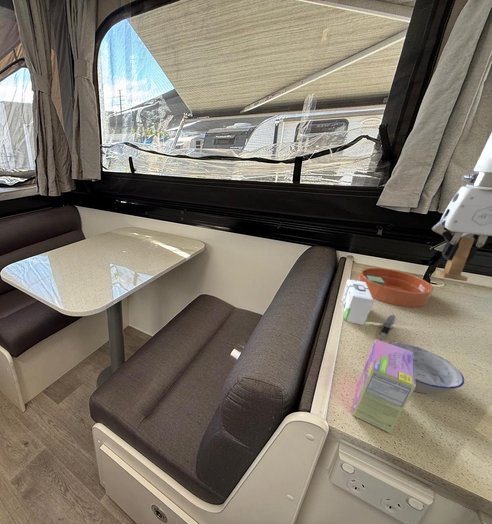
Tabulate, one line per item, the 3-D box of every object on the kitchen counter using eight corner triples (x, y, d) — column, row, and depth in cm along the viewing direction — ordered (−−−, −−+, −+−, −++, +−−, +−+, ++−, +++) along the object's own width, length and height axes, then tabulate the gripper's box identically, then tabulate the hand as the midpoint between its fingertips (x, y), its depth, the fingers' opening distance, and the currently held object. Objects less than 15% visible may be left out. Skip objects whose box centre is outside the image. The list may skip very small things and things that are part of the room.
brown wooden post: (456, 277, 66) (472, 237, 64) (466, 281, 63) (483, 239, 61) (435, 274, 68) (449, 235, 66) (443, 277, 65) (458, 236, 62)
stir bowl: (413, 287, 95) (419, 273, 93) (436, 314, 80) (445, 298, 78) (351, 277, 102) (355, 264, 100) (362, 300, 88) (367, 285, 85)
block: (377, 287, 94) (381, 277, 92) (380, 292, 91) (384, 282, 89) (363, 285, 96) (366, 275, 94) (365, 290, 92) (369, 280, 91)
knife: (372, 336, 72) (386, 340, 70) (372, 333, 71) (387, 338, 69) (382, 313, 81) (396, 316, 79) (383, 310, 81) (396, 314, 79)
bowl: (442, 416, 51) (454, 398, 49) (363, 371, 61) (370, 355, 59) (462, 385, 57) (473, 368, 55) (387, 350, 67) (394, 334, 65)
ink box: (344, 321, 78) (339, 302, 87) (365, 326, 75) (358, 305, 85) (352, 295, 74) (346, 278, 84) (375, 299, 72) (366, 281, 82)
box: (357, 381, 58) (375, 338, 53) (391, 396, 55) (415, 351, 50) (350, 415, 51) (371, 368, 46) (389, 434, 48) (416, 387, 43)
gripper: (452, 181, 58) (417, 259, 66) (566, 186, 51) (512, 272, 59) (437, 177, 64) (406, 249, 72) (538, 181, 57) (492, 259, 65)
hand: (454, 258), depth 65 cm, fingers closed on brown wooden post, 2 cm apart
